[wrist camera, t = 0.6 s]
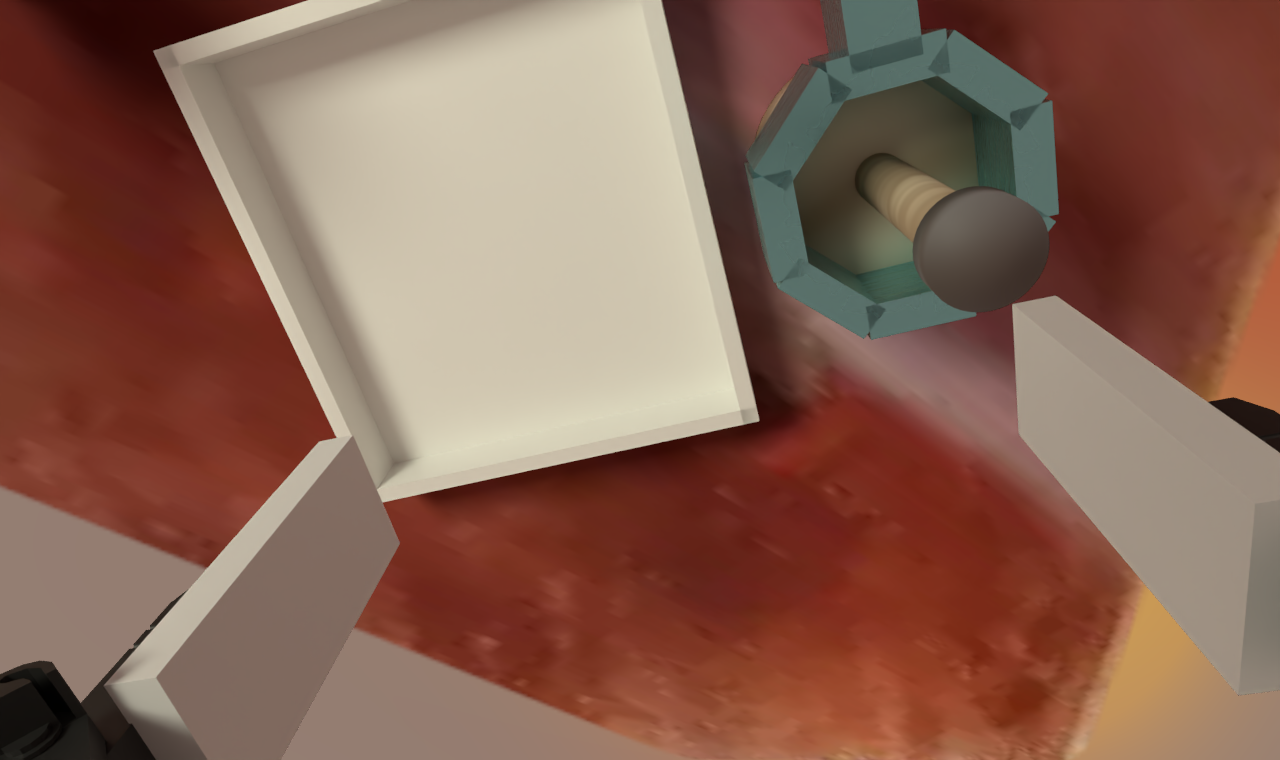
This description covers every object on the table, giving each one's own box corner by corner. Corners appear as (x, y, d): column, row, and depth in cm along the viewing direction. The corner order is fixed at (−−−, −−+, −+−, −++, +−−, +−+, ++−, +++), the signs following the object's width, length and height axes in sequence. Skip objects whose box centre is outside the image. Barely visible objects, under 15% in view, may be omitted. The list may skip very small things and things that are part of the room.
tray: (200, 49, 36) (152, 50, 33) (640, -93, 33) (636, -107, 30) (391, 471, 45) (368, 505, 41) (753, 391, 41) (759, 421, 38)
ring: (1021, 267, 33) (1063, 296, 29) (778, 324, 35) (789, 358, 31) (984, -196, 27) (1032, -233, 23) (688, -101, 28) (689, -121, 25)
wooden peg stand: (731, 82, 35) (771, 120, 20) (948, 21, 34) (1179, 9, 18) (773, 281, 39) (835, 447, 23) (971, 233, 37) (1179, 376, 22)
